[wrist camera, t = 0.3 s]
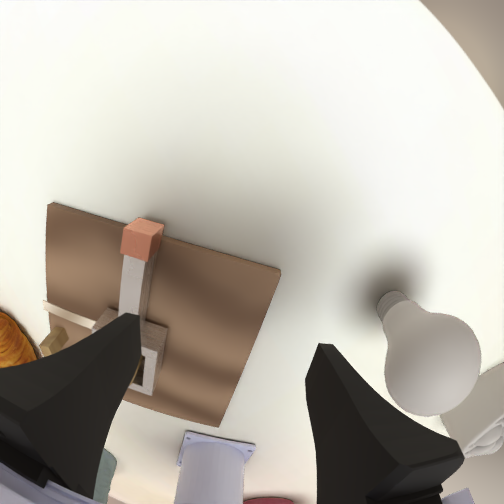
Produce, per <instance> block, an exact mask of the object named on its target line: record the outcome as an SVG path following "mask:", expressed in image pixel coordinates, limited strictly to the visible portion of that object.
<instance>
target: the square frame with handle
mask: <svg viewBox="0 0 504 504" xmlns="http://www.w3.org/2000/svg"><path fill="white" fill-rule="evenodd" d="M163 229H164V225H163V224H160V223H157V222H153V221H150V220H146V219H143V218H137V219H136V220H134V221H133V222H131V223H130V224H128V225H127V226H125V227H124V228H123V235H122V242H121V250H120V253H121V254H124V260H123V268H122V277H121V287H120V299H119V312H118V311H115V310H113V309H110V308H107V309H106V310H105V311H104V313H103V314H102V315H101V317H100V318H99V319H98V320H97V322H96V323H95V324H94V325H93V327H92V334H93V333H94V332H96V331H97V330H99V329H101V328H102V327H104V326H105V325H107V324H108V323H110V322H111V321H113V320H114V319H116V318H118V317H119V316H121V315H122V314H124V313H126V312H127V313H131V314H136V315H140V334H141V350H142V355H143V356H145V361H143V360H142V362H141V364H140V367H139V369H138V371H137V373H136V375H135V378H134V380H133V382H132V384H131V385H130V386H129V387H128V388H130V389H133V390H135V391H138V392H141V393H144V394H147V395H150V396H152V394H153V391H154V388H155V386H156V383H157V380H158V378H159V375H160V372H161V365H162V359H163V353H164V347H165V341H166V336H167V330H168V328H165V327H162V326H159V325H156V324H153V323H150V322H147V321H145V319H146V311H147V304H148V297H149V291H150V284H151V278H152V272H153V266H154V260H155V255H156V252H157V250H158V249H159V248H160V244H161V239H162V234H163Z"/></svg>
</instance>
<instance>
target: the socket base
mask: <svg viewBox="0 0 504 504" xmlns="http://www.w3.org/2000/svg"><path fill="white" fill-rule="evenodd" d="M125 226H127V225H126V224H123V223H119V222H116V221H113V220H109V219H106V218H103V217H100V216H96V215H93V214H90V213H86V212H83V211H80V210H77V209H73V208H70V207H67V206H64V205H60V204H57V203H54V202H53V203H51V204H48V205H47V220H46V285H47V301H48V302H47V301H45V300H43V306H44V310H46V311H48V312H49V322H50V330H51V332H50V334H49V335H48V336H47V337H46V338H45V339H44V340H43V341H42V343H41V344H40V345H39V346H40V348H41V350H42V352H43V354H44V356H45V357H46V356H49V355H52V354H54V353H56V352H59V351H61V350H63V349H65V348H67V347H69V346H71V345H73V344H75V343H77V342H79V341H80V340H82V339H84V338H86V337H87V336H89V335H91V334H92V327H93V325H94V324H95V323H96V322H97V320H98V319H99V318H100V317H101V315H102V314H103V313H104V311H105V310H106V309H107V308H110V309H113V310H115V311H118V312H119V299H120V287H121V277H122V268H123V260H124V254H121V253H120V250H121V242H122V235H123V228H124V227H125ZM280 277H281V271H280V270H279V269H276V268H272V267H269V266H265V265H262V264H258V263H255V262H251V261H248V260H244V259H241V258H238V257H234V256H231V255H227V254H224V253H220V252H217V251H214V250H210V249H207V248H203V247H200V246H197V245H193V244H190V243H186V242H183V241H180V240H176V239H173V238H169V237H166V236H163V235H162V239H161V244H160V248H159V249H158V250H157V252H156V255H155V260H154V266H153V272H152V278H151V284H150V291H149V297H148V304H147V311H146V319H145V321H147V322H150V323H153V324H156V325H159V326H162V327H165V328H168V330H167V336H166V341H165V347H164V353H163V359H162V365H161V372H160V375H159V378H158V380H157V383H156V386H155V388H154V391H153V394H152V396H150V395H147V394H144V393H141V392H138V391H135V390H133V389H130V388H128V389H127V391H126V393H125V395H124V397H123V399H122V400H125V401H128V402H131V403H133V404H136V405H139V406H142V407H145V408H148V409H151V410H154V411H157V412H161V413H164V414H167V415H171V416H174V417H177V418H181V419H185V420H189V421H192V422H196V423H200V424H204V425H209V426H213V427H218V428H219V425H220V423H221V421H222V419H223V416H224V414H225V412H226V409H227V407H228V405H229V402H230V400H231V398H232V395H233V393H234V391H235V388H236V386H237V384H238V381H239V379H240V377H241V374H242V372H243V369H244V367H245V365H246V362H247V360H248V357H249V355H250V353H251V350H252V348H253V345H254V343H255V340H256V338H257V335H258V333H259V330H260V328H261V325H262V323H263V320H264V318H265V315H266V313H267V310H268V308H269V305H270V303H271V300H272V297H273V295H274V292H275V290H276V287H277V285H278V282H279V279H280ZM142 360H143V361H145V356H143V355H141V357H140V360H139V364H138V366H137V369H136V372H135V374H134V377H133V379H132V381H131V383H130V385H131V384H132V382H133V380H134V378H135V375H136V373H137V371H138V369H139V367H140V364H141V362H142ZM130 385H129V386H130Z"/></svg>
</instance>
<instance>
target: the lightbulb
mask: <svg viewBox="0 0 504 504" xmlns="http://www.w3.org/2000/svg"><path fill="white" fill-rule="evenodd" d="M377 313H378V315H379V317H380V319H381V321H382V323H383V331H384V333H385V335H386V337H387V341H388V350H387V354H386V361H385V371H384V375H385V382H386V386H387V389H388V392H389V394H390V396H391V397H392V399H393V400H394V401H395V402H396V404H397V405H398V406H400V407H401V408H402V409H403V410H405V411H406V412H409V413H411V414H414V415H418V416H424V417H429V416H435V415H440V414H443V413H446V412H448V411H450V410H452V409H453V408H455V407H456V406H458V405H459V404H460V403H461V402H462V401H463V400H464V399H465V398H466V397H467V396H468V395H469V394H470V392H471V391H472V389H473V387H474V385H475V383H476V381H477V379H478V376H479V373H480V367H481V350H480V345H479V342H478V340H477V338H476V336H475V334H474V332H473V330H472V329H471V328H470V327H469V326H468V325H467V324H466V323H465V322H464V321H462V320H460V319H459V318H457V317H454V316H452V315H447V314H442V313H430V312H428V311H425V310H424V309H422V308H421V307H420V306H419V305H418V304H417V303H415V302H413V301H410V300H409V299H408V298H407V297H406V296H405V295H404V294H403V293H402V292H400V291H391V292H388V293H386V294H385V295H384V296H383V297H382V298H381V299H380V301H379V302H378V305H377Z"/></svg>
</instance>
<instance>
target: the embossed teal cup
mask: <svg viewBox="0 0 504 504" xmlns="http://www.w3.org/2000/svg"><path fill="white" fill-rule="evenodd" d="M116 462H117V461H116V460H115V458H114V457H113V455H111V454H110V453H109V452H108V451H107V450H105V449H103V452H102V456H101V460H100V464H99V469H98V473H97V478H96V484H95V490H94V496H93V500H94V501H97V502H100V503H102V504H107V501H108V493H109V491H110V485H111V480H112V478H113V476H114V472H115V468H116Z"/></svg>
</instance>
